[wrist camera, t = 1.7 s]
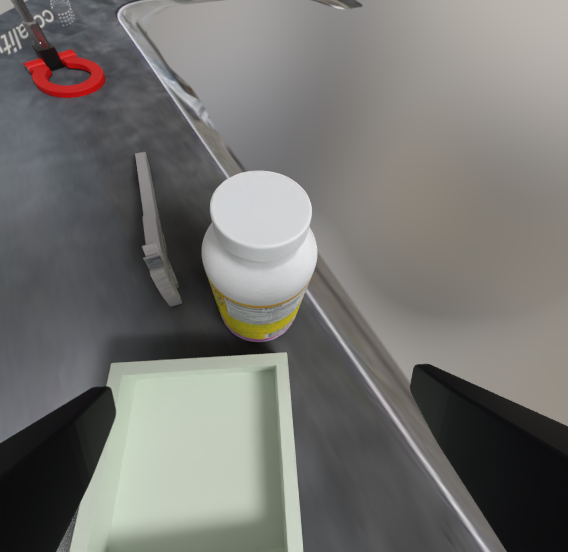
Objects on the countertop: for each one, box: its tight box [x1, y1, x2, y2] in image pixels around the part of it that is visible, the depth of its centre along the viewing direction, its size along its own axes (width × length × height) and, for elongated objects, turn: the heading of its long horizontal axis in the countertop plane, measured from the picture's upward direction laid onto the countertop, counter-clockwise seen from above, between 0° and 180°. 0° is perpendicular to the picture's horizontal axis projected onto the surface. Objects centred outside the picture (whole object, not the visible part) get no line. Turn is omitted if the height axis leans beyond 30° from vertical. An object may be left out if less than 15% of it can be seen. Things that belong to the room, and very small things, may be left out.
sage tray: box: [69, 353, 303, 552], centre depth 16 cm, size 12×12×3 cm
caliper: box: [135, 152, 183, 307], centre depth 24 cm, size 20×1×6 cm, turn 22°
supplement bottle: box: [202, 171, 317, 342], centre depth 17 cm, size 7×7×13 cm
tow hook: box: [11, 0, 105, 98], centre depth 31 cm, size 8×13×9 cm
